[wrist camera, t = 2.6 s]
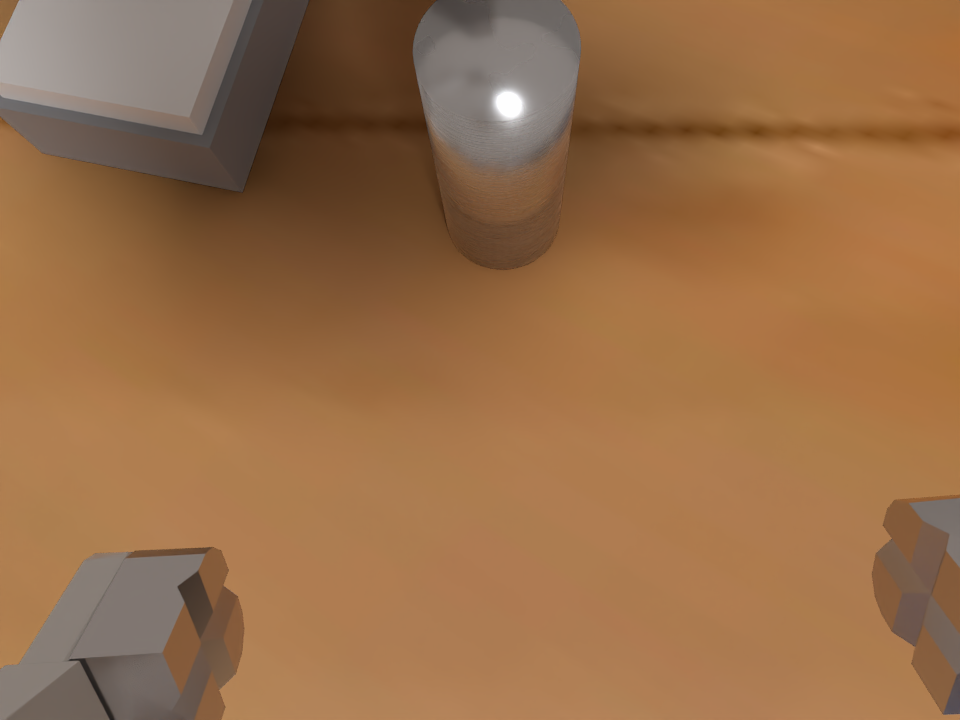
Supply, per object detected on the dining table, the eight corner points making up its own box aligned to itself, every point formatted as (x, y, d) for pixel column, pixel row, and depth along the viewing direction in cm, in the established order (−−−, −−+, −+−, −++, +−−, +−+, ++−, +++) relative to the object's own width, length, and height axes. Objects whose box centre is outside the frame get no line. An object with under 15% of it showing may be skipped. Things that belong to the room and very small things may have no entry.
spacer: (434, 257, 26) (394, 104, 17) (461, 157, 27) (435, -35, 18) (546, 279, 26) (562, 134, 17) (569, 177, 27) (595, -9, 18)
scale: (27, 150, 28) (-51, 83, 24) (119, -63, 30) (62, -154, 27) (242, 192, 27) (197, 130, 23) (319, -31, 30) (290, -120, 26)
